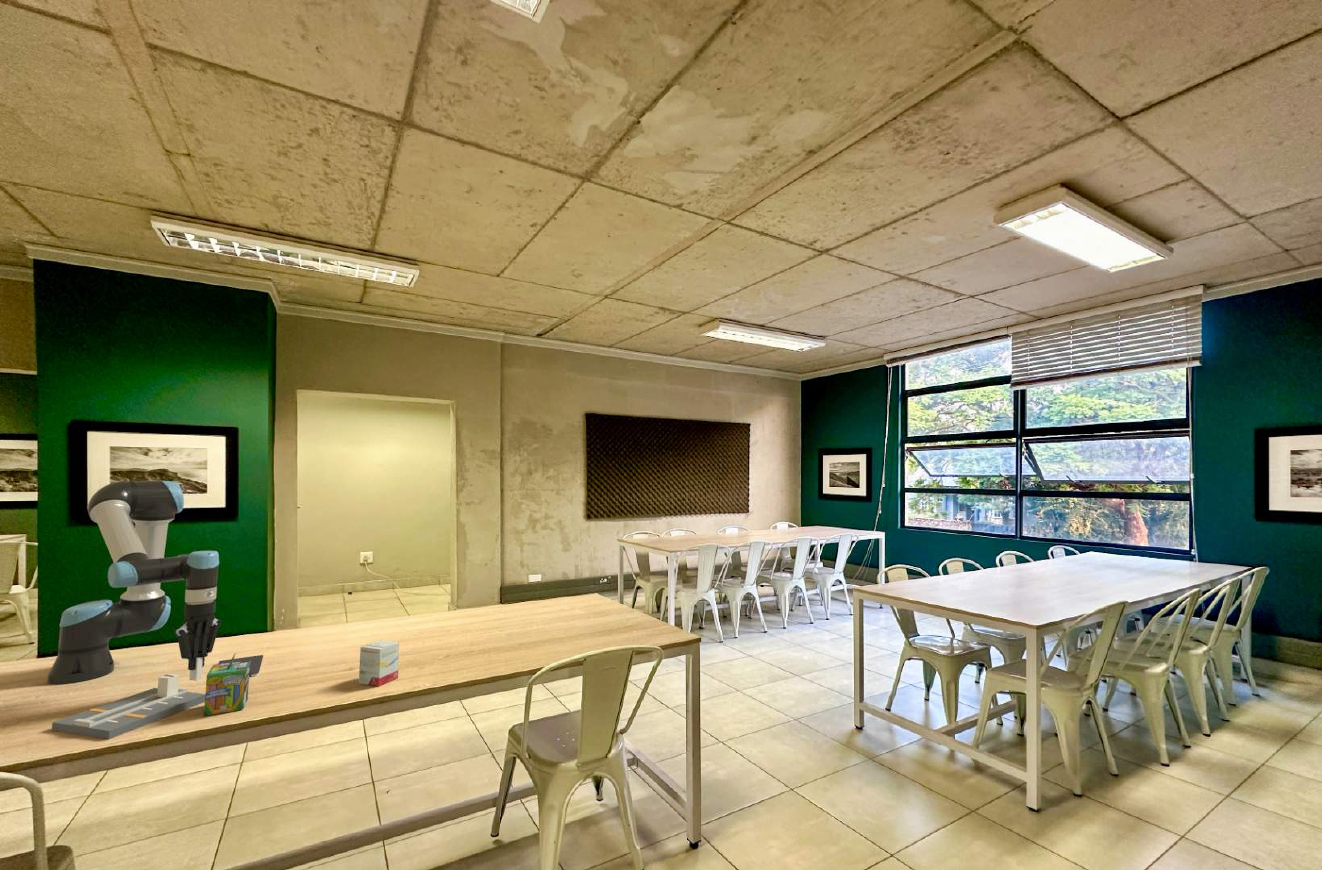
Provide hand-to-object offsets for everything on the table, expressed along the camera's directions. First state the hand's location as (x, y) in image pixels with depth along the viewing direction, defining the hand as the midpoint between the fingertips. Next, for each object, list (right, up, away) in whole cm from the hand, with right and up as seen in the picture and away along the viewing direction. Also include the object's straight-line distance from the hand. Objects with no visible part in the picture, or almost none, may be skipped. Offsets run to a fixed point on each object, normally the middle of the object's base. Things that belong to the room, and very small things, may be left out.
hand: (195, 679), depth 169 cm
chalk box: (+18, -4, -11) cm, 21 cm away
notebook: (-2, -6, +19) cm, 20 cm away
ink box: (+51, -5, +11) cm, 52 cm away
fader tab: (-2, -1, -8) cm, 8 cm away
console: (-4, -3, -16) cm, 17 cm away
